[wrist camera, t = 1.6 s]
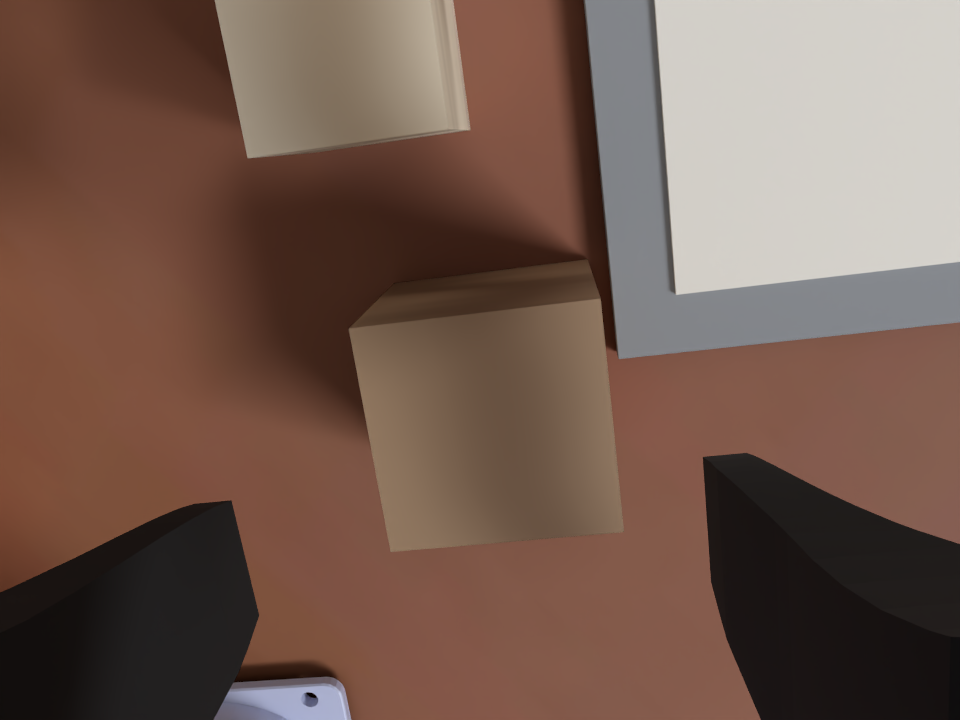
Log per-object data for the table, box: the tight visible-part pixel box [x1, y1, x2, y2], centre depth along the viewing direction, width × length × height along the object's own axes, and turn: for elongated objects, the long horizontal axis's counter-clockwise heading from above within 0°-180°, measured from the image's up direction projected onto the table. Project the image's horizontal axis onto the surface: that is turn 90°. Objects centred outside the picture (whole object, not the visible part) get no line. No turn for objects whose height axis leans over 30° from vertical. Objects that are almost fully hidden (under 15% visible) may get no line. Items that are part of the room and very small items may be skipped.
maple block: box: [215, 0, 471, 158], centre depth 17 cm, size 4×4×4 cm
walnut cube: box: [349, 259, 624, 552], centre depth 18 cm, size 5×5×5 cm
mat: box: [584, 0, 960, 359], centre depth 18 cm, size 10×10×1 cm
